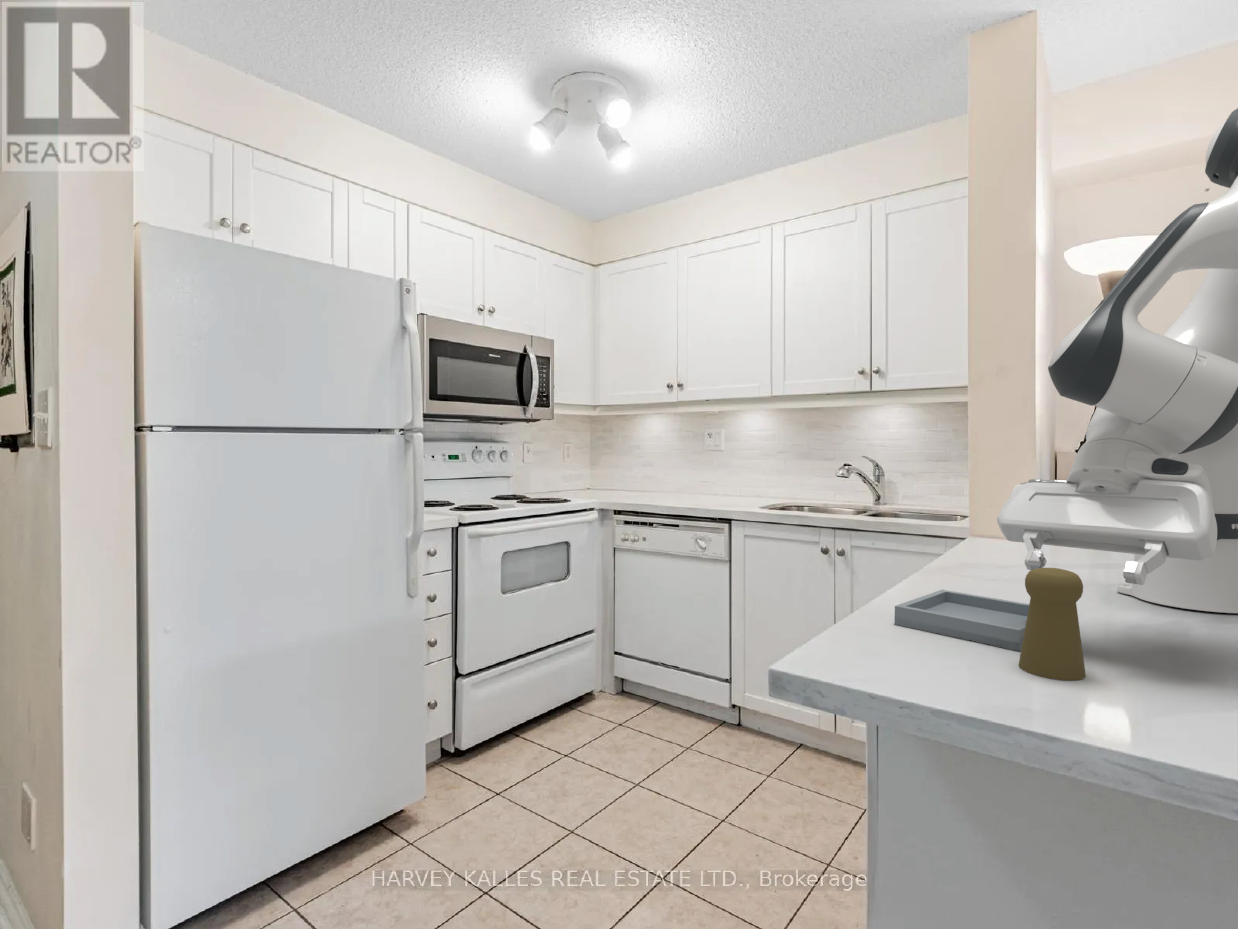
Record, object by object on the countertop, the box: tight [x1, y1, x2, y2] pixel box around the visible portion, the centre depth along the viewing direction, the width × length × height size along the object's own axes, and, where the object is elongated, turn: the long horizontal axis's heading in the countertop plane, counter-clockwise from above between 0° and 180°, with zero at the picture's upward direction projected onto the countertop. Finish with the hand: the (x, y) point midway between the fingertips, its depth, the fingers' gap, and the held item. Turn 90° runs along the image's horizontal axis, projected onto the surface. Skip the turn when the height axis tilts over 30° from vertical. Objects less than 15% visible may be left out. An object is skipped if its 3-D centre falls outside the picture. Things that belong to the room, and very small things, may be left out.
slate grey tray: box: [894, 589, 1030, 652], centre depth 87 cm, size 15×15×2 cm
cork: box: [1018, 567, 1087, 682], centre depth 70 cm, size 6×6×11 cm
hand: (1080, 573), depth 71 cm, fingers open, 8 cm apart
